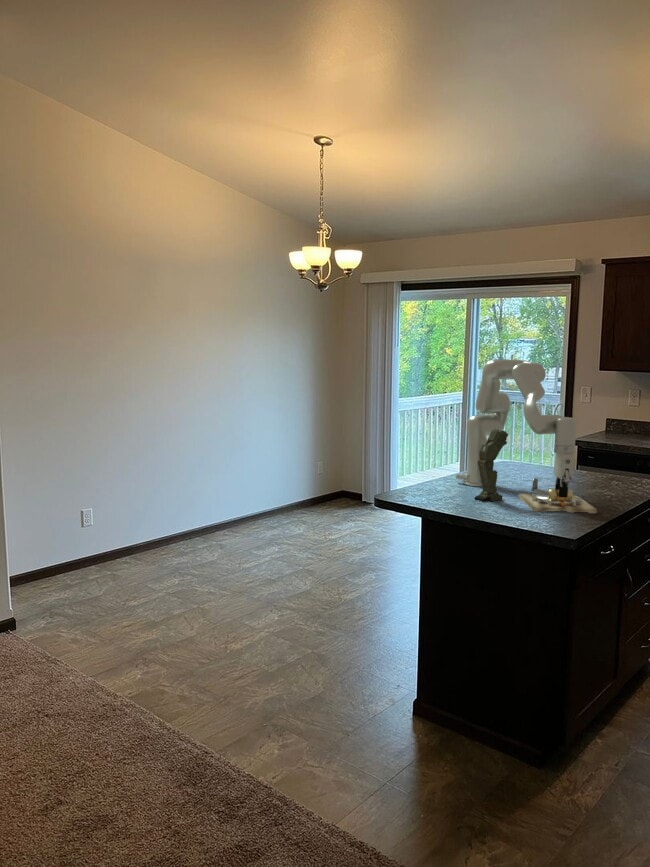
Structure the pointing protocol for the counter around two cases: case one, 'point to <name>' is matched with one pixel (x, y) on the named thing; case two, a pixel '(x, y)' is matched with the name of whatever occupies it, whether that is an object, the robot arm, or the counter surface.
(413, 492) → the counter surface
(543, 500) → the sprocket
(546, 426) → the robot arm
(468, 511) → the counter surface
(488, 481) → the mechanical leg
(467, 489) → the counter surface
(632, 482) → the counter surface
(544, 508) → the sprocket plate
